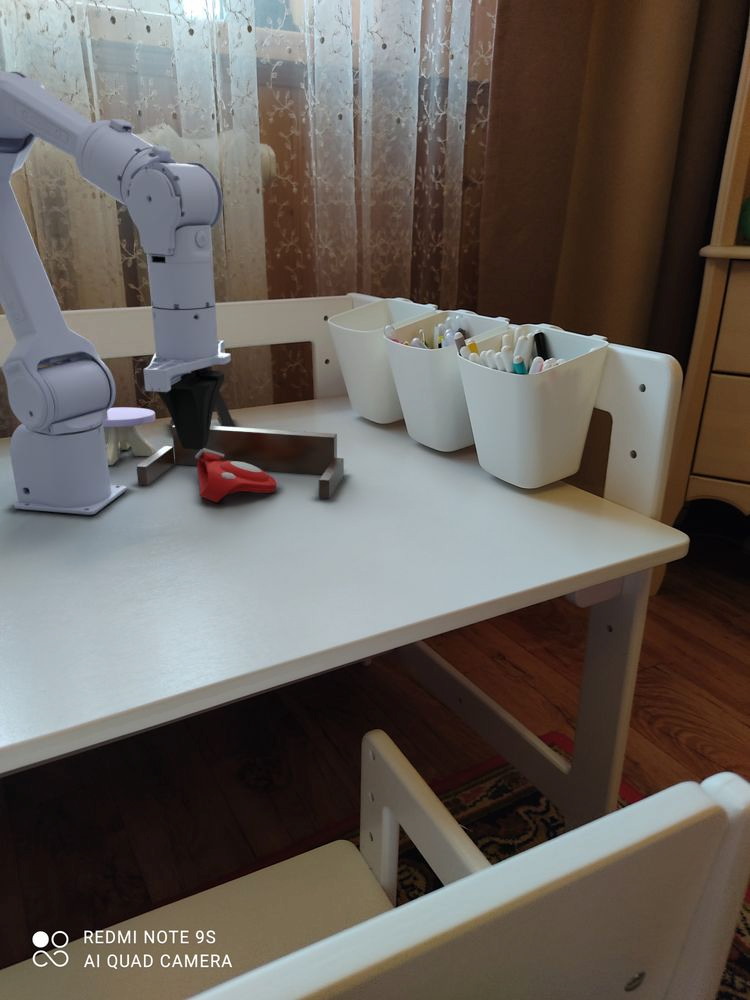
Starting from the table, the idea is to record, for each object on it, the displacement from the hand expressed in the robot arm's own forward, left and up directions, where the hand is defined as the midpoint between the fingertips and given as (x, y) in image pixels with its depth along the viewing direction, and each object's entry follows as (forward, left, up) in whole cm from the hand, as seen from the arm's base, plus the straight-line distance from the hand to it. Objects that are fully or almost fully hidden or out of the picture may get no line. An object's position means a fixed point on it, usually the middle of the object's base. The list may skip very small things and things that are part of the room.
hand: (194, 447), depth 76 cm
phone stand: (-14, +36, -10) cm, 40 cm away
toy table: (-20, +22, -10) cm, 31 cm away
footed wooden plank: (-1, +17, -9) cm, 19 cm away
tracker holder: (-2, +14, -10) cm, 17 cm away
